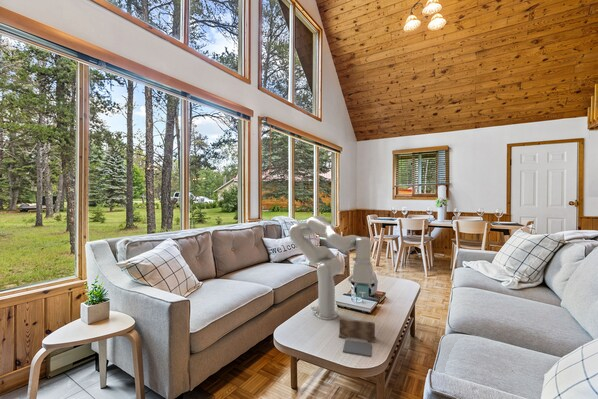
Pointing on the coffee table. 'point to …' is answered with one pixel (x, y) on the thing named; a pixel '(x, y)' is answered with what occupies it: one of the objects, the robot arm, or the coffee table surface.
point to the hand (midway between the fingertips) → (362, 294)
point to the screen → (357, 329)
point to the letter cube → (362, 290)
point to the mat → (357, 348)
